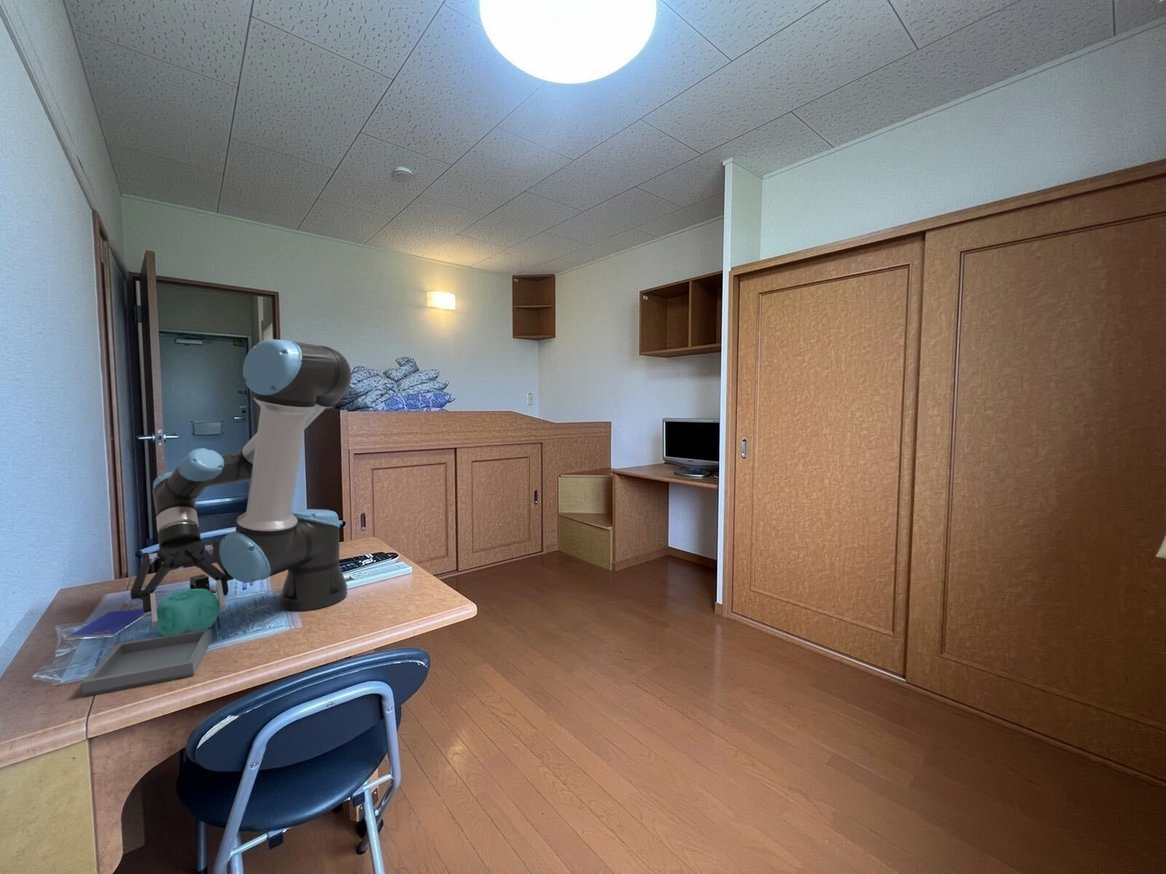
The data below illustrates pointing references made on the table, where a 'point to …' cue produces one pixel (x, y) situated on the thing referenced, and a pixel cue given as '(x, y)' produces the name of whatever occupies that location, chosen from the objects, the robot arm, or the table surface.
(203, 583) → the black boxy piece
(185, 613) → the decorative dice
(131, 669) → the tray
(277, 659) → the table surface
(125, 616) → the purple flat rectangle
